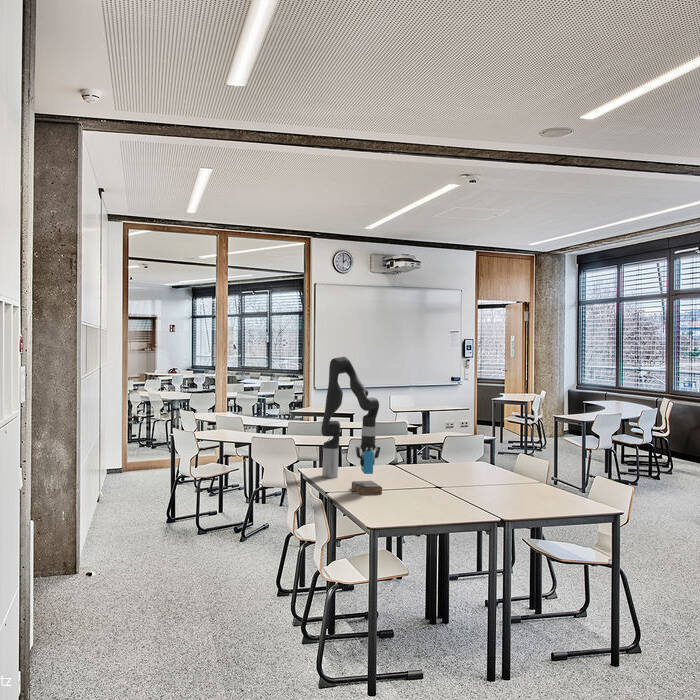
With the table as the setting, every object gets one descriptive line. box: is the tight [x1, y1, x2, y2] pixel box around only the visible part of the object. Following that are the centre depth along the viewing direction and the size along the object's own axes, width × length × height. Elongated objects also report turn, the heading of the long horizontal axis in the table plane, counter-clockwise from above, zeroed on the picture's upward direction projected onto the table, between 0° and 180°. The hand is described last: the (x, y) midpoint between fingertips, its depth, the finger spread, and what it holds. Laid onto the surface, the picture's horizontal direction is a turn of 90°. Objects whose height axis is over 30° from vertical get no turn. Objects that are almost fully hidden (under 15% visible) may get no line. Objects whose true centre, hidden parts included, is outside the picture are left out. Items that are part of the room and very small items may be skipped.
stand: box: [351, 480, 383, 496], centre depth 345 cm, size 15×12×4 cm
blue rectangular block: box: [360, 450, 375, 475], centre depth 345 cm, size 12×4×12 cm, turn 8°
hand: (367, 465), depth 345 cm, fingers closed on blue rectangular block, 5 cm apart
